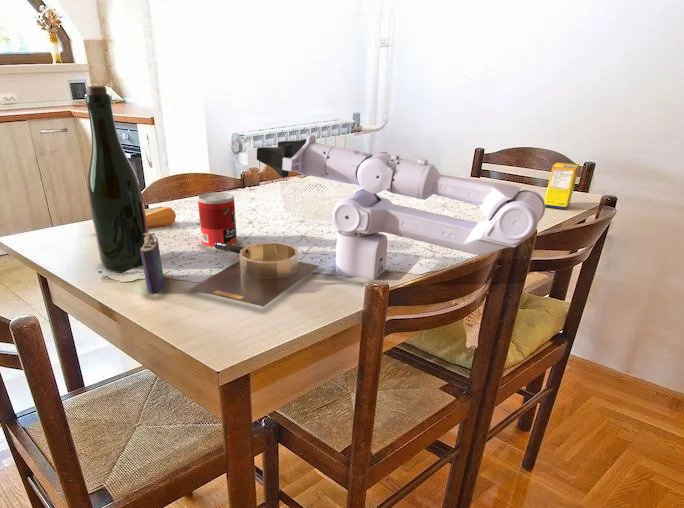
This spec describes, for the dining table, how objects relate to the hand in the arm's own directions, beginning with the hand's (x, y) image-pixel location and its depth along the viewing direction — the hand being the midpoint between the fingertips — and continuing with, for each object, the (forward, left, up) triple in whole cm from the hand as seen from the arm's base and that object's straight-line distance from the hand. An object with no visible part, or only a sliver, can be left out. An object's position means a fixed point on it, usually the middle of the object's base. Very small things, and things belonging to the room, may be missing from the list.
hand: (268, 150), depth 102 cm
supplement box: (-49, -73, -22) cm, 91 cm away
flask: (+11, +24, -22) cm, 34 cm away
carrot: (+41, -3, -22) cm, 47 cm away
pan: (0, +8, -21) cm, 22 cm away
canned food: (+15, -2, -22) cm, 27 cm away
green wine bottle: (+25, +17, -22) cm, 37 cm away
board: (-4, +12, -22) cm, 25 cm away
